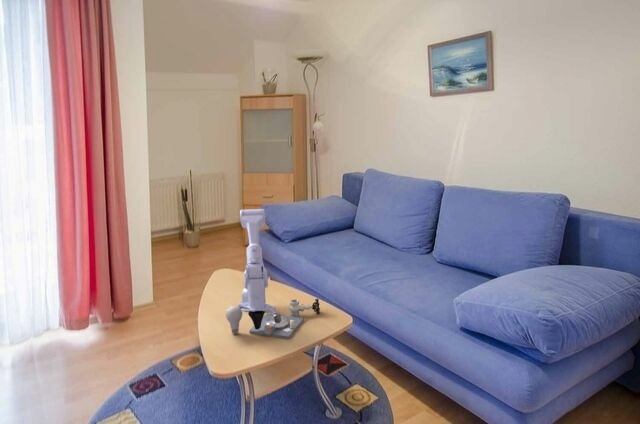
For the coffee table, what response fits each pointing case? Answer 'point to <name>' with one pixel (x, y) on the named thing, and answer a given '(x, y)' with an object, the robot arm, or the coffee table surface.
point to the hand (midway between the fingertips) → (257, 328)
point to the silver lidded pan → (275, 323)
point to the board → (282, 332)
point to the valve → (302, 307)
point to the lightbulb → (234, 318)
